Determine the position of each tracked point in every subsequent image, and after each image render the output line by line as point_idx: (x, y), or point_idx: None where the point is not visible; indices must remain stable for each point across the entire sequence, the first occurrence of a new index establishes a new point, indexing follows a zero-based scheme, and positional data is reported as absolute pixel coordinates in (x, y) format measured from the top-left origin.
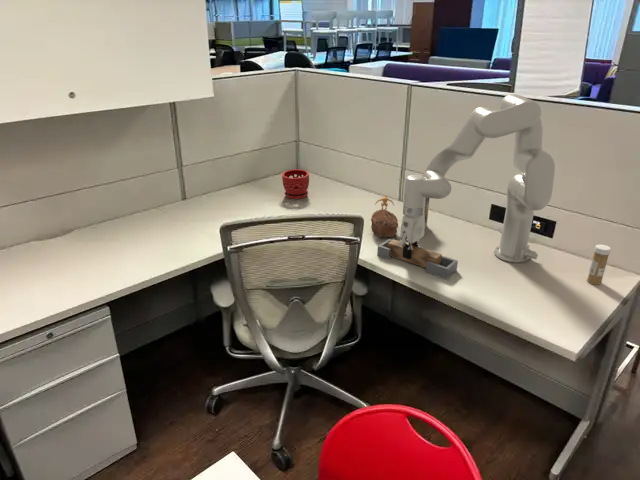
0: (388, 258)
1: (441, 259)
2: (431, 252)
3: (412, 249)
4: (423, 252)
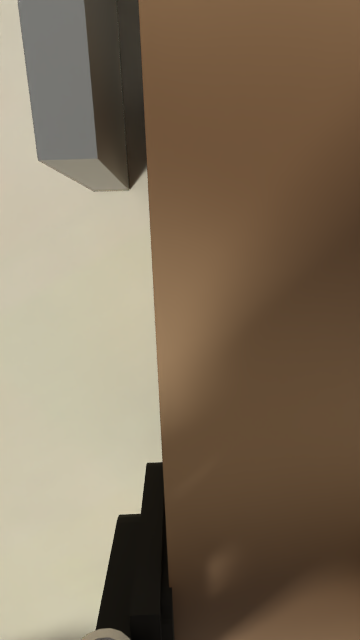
0: None
1: (99, 34)
2: (227, 207)
3: (341, 582)
4: (343, 363)
